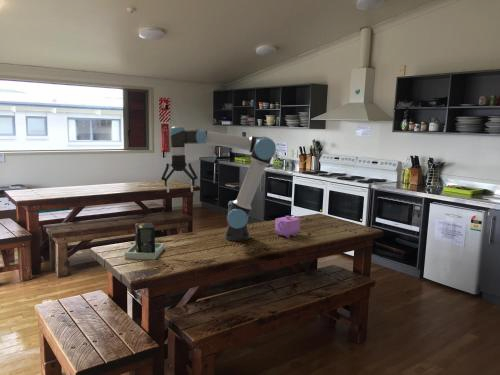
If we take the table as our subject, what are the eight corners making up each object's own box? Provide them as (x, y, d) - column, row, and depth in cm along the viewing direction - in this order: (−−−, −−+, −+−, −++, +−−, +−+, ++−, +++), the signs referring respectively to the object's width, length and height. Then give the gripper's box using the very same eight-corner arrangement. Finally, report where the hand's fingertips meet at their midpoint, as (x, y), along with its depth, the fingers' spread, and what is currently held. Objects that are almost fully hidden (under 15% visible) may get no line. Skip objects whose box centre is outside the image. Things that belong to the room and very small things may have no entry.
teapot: (283, 239, 259) (284, 219, 257) (272, 235, 267) (272, 216, 265) (305, 234, 272) (306, 215, 270) (294, 230, 280) (294, 212, 278)
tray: (164, 248, 237) (163, 243, 237) (155, 259, 219) (155, 253, 219) (135, 247, 238) (135, 242, 237) (124, 258, 220) (124, 252, 220)
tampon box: (135, 249, 232) (134, 223, 230) (152, 247, 235) (151, 221, 233) (137, 255, 222) (136, 228, 219) (155, 253, 225) (154, 226, 223)
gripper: (201, 153, 242) (202, 190, 246) (157, 154, 242) (159, 191, 246) (199, 154, 235) (201, 192, 238) (154, 155, 235) (156, 193, 239)
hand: (180, 191), depth 242 cm, fingers open, 13 cm apart
